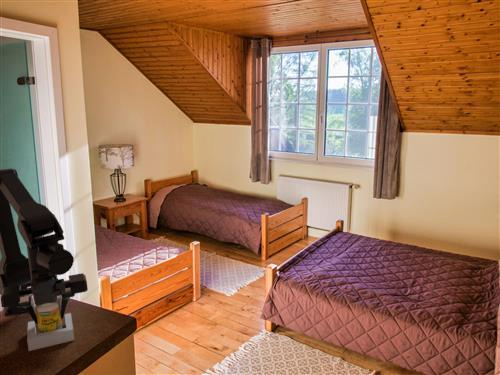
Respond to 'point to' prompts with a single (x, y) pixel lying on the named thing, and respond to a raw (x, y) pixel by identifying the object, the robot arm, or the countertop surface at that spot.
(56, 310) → the supplement bottle
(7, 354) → the countertop surface
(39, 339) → the notched board
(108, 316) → the countertop surface
